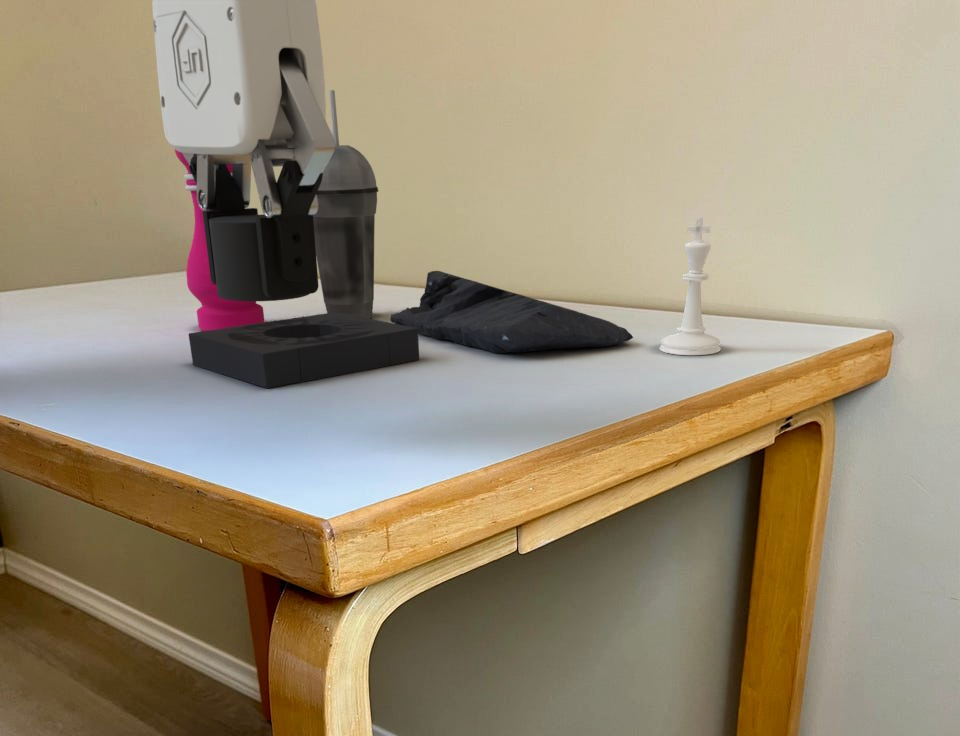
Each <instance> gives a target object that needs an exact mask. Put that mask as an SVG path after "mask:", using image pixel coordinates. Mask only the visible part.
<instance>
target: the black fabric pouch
mask: <svg viewBox="0 0 960 736" xmlns="http://www.w3.org/2000/svg"><path fill="white" fill-rule="evenodd" d="M426 275H427V276H426V282H425V288H424V292H423V294H422V295H421V297H420V299H419V301H420V302H419V306H412V307H407V308H405V309H402V310H401V311H399V312H395V313H392V314H390V320H389V321H390V323H393V324H399V325H404V326H409V327H414V328H418V334H421V335H422V336H429V337H432V338H434V339H438V340H449V341H453V342H454V343H456V344H461V345H463V346H467V347H471V346H472V347H473V348H478V349H482V350H484V351H490V352H491V353H493V354H500V353H528V352H532V351H534V352H536V351H542V352H543V351H547V350H561V349H581V348H601V347H611V346H617V345H620V344H623V343H625V342H626V343H627V342H628V341H630V340H632V339H634V336H633V335H632V334H631V333H630V332H629V331H628V329H627V328H625V327H621V326H619V325H617V324H615V323H613V322H612V321H609V320H607V319H604V318H600V317H596V316H593V315H591V314H587V313H583V312H580V311H577V310H574V309H570V308H567V307H563V306H560V305H558V304H557V305H556V304H554V303H549V302H547V301H543V300H539V299H536V298H533V297H529V296H526V295H522V294H519V293H515V292H513V291H509V290H505V289H502V288H499V287H495V286H493V285H488V284H485V283H481V282H479V281H475V280H472V279H468V278H464V277H461V276H457V275H454V274H451V273H447V272H444V271H441V270H432V271H429V272H427V274H426Z"/></svg>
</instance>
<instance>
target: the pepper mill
mask: <svg viewBox="0 0 960 736" xmlns="http://www.w3.org/2000/svg"><path fill="white" fill-rule="evenodd" d="M174 154H175V156H176V158H177V159H178V160H179V161H180V162H181V163H182V165H183V167H185V169H186V171H187V173H185V174H184V175H183V179H184V180H185V184H186V185H185V190H186V191H188V192H190V195H191V200H192V205H193V212H194V215H193V216H194V227H193V228H194V230H193V237H192V242H191V246H190V249H189V253H188V257H187V261H186V262H187V263H186V270H185V274H186V286H187V288H188V291H189V292H190V293H191V294H192V295H193V296H194V297H195V298H196V300H198V301H199V303H200V304H201V306H200V307H199V308H198V309H196V317H197V325H198V328H199V331H209V330H216V329H222V328H229V327H236V326H243V325H250V324H257V323H264V322H265V313H264V307H263V305H261V304H259V303H257V301H233V300H226V299H222V298H220V297H218V292H217V285H215V284H213V283H212V281H211V277H210V269H209V261H208V252H207V244H206V236H205V228H204V220H203V212H202V211H210V210H202V209H201V208H200V207H199V204H198V201H197V184H196V182H195V180H194V178H193V176H192V174H191V173H190V170H189V166H190V165H189V164H188V162H187V160H186V159H185V157H184V155H183V154H182V152H179V151H177V150H176V149H174ZM226 166H227V168H228V170H229V172H230V174H231V175H232V169H233V164H226Z"/></svg>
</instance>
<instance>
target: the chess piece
mask: <svg viewBox="0 0 960 736" xmlns="http://www.w3.org/2000/svg"><path fill="white" fill-rule="evenodd" d="M703 222H704V217H703V216H700V217H699V216H697V217H695V225H688V226H687V227H686V229H687V230H686V233H694V240H691V241H689V242H686V243H685V244H684V252H685V254H686V256H685V257H686V260H687V265H688V269H689V270H688V272H687V273H683V274H682V276H681V280H684V281H687V282H688V286H687V292H686V298H685V305H684V310H683V316H682V320H681V324H680V326H679V327H677V328H676V330H677V331H678V332H676V333H672V334H669V335H667V336H665V337H663V338H662V339H661V340H660V344H661V345H660V346H659V350H660V351H661V352H663V353H666V354H671V355H679V356H705V355H706V356H707V355H712V354H716V353H719V352H720V351H721V350H722V348H721V346H720V345H721V340H720V339H719V338H718V337H716V336H714V335H712V334H709V333H705V331H706V330H707V328H706V327H704V326H703V314H702V313H703V311H702V281H707V280H709V279H710V277H709V274H708V273H704V270H703V268H704V266H705V263H706V260H707V257H708V255H709V253H710V250H711V247H712V246H711V244H710V243H709V242H707V241H704V240H702V233H703V234H704V233H705V234H707V233H710V232H711V225H703Z"/></svg>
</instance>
